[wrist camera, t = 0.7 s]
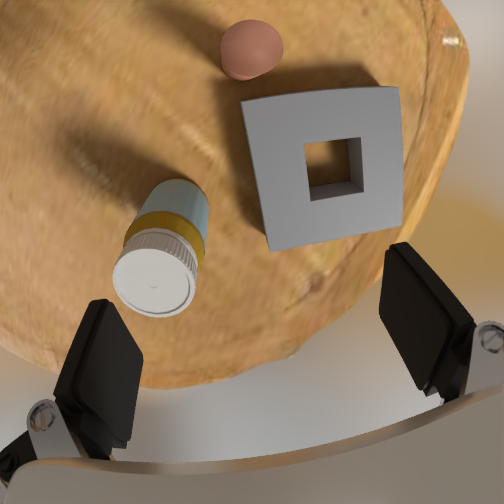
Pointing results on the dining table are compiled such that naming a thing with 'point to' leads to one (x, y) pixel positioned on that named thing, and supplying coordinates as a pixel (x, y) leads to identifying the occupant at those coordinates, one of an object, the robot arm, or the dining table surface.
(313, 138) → the socket block
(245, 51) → the peg
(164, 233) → the bottle
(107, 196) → the dining table surface
